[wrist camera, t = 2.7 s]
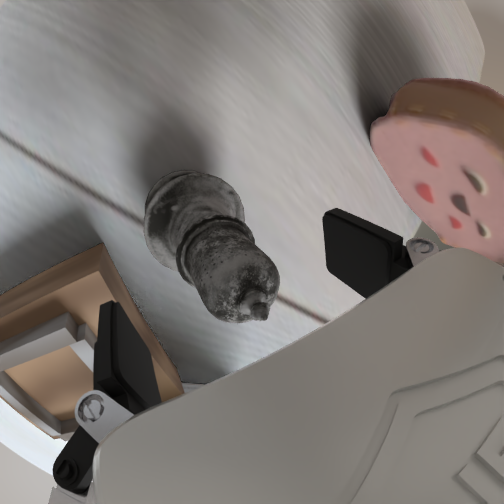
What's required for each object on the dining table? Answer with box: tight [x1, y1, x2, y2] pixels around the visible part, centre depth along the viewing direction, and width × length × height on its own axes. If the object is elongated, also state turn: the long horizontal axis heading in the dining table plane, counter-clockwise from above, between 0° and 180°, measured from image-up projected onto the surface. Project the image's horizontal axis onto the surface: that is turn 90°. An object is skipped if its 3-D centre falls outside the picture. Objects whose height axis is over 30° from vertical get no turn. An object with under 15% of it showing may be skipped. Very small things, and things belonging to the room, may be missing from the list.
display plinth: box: [0, 243, 185, 441], centre depth 15 cm, size 14×16×6 cm
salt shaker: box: [144, 170, 280, 323], centre depth 13 cm, size 6×6×12 cm
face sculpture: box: [370, 78, 504, 264], centre depth 18 cm, size 20×7×17 cm, turn 51°
